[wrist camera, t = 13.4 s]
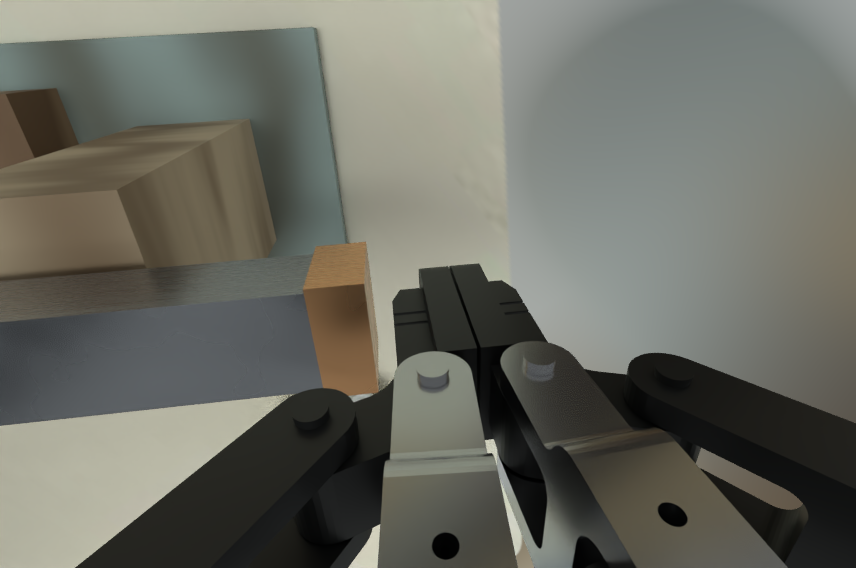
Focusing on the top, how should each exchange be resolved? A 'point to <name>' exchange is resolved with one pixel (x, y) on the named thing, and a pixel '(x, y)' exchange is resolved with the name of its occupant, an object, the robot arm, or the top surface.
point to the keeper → (187, 335)
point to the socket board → (209, 93)
